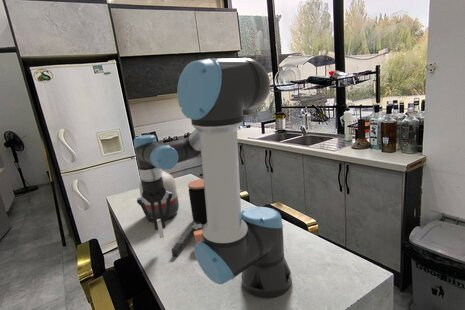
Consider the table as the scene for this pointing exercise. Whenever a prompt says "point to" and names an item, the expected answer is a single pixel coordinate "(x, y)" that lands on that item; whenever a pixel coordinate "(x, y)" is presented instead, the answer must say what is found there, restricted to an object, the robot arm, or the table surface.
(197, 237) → the orange rectangular block
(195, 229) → the grey long bar
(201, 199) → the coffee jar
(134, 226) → the table surface
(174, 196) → the vase
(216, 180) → the robot arm
